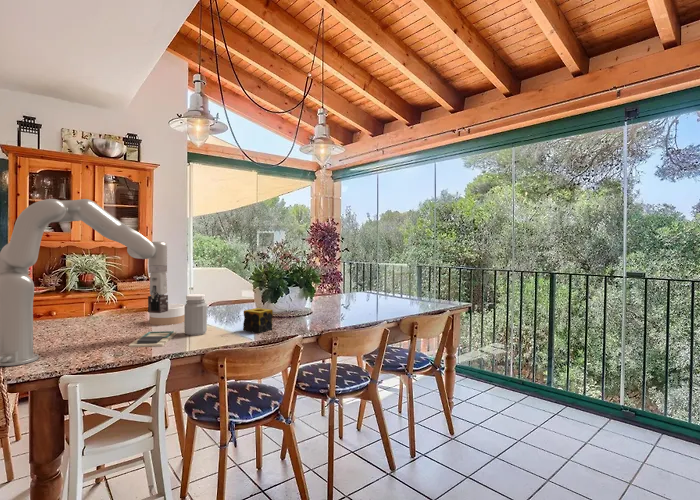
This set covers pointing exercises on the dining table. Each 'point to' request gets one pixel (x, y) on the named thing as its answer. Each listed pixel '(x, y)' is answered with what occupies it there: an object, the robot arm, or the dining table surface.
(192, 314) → the jar
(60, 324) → the dining table surface
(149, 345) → the stamp board
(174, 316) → the bowl
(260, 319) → the candle
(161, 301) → the box
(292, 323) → the dining table surface
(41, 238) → the robot arm
